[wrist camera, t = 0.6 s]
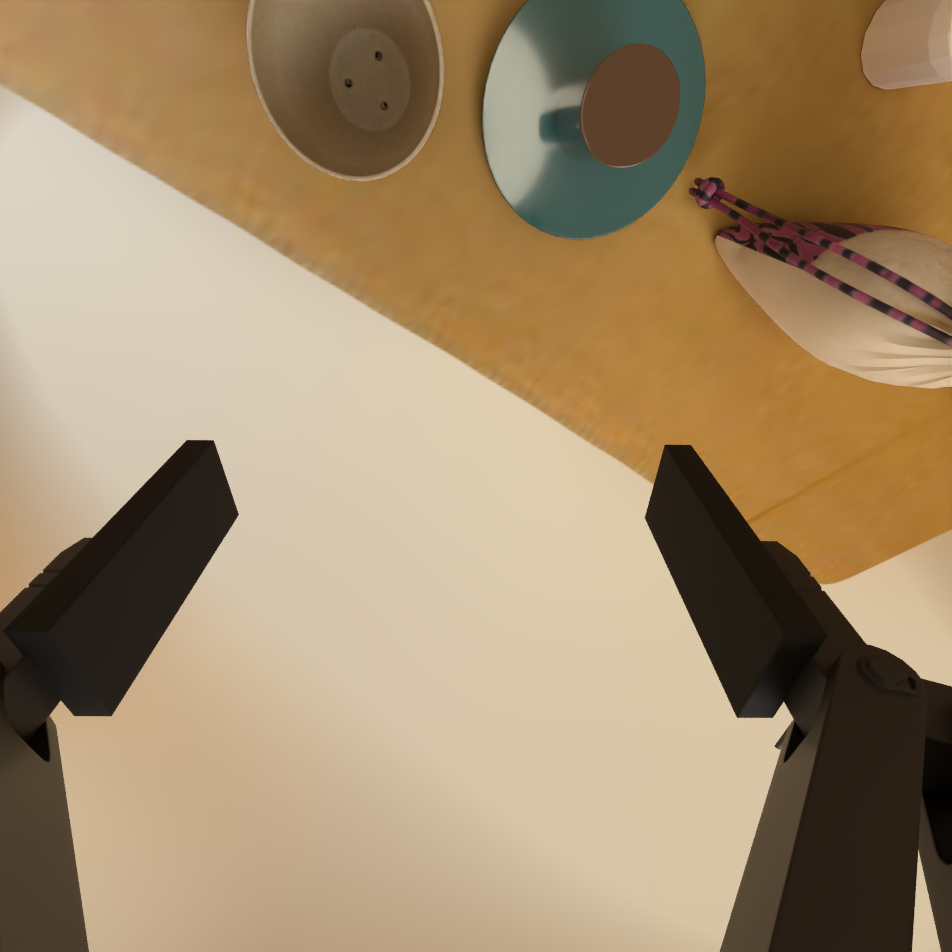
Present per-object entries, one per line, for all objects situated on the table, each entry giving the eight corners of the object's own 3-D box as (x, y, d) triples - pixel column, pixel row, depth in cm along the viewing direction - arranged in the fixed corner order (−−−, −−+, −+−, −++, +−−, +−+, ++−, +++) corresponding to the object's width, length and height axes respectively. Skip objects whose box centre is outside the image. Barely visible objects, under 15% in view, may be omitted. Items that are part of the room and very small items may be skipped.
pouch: (969, 285, 38) (1324, 385, 22) (885, 378, 42) (1131, 517, 26) (701, 147, 33) (916, 148, 17) (636, 269, 37) (759, 360, 21)
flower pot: (468, 8, 29) (467, -28, 23) (429, 195, 34) (420, 205, 28) (296, -62, 27) (247, -119, 21) (284, 146, 32) (242, 146, 26)
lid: (481, -32, 28) (485, -109, 19) (725, -34, 28) (835, -113, 19) (481, 237, 36) (484, 266, 27) (671, 235, 36) (732, 264, 27)
